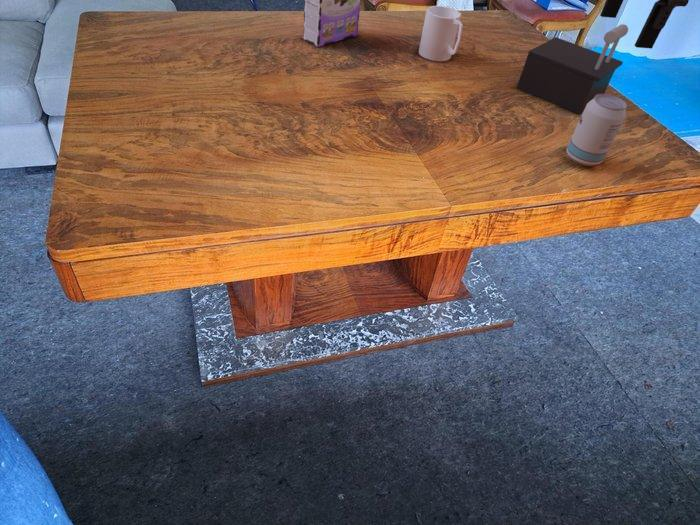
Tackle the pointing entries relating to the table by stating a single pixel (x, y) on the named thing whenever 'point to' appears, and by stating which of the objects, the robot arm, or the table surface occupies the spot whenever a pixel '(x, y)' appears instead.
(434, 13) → the cup
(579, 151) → the beverage can
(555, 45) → the lid
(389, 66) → the table surface
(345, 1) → the candy box
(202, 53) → the table surface
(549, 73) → the dark piece
